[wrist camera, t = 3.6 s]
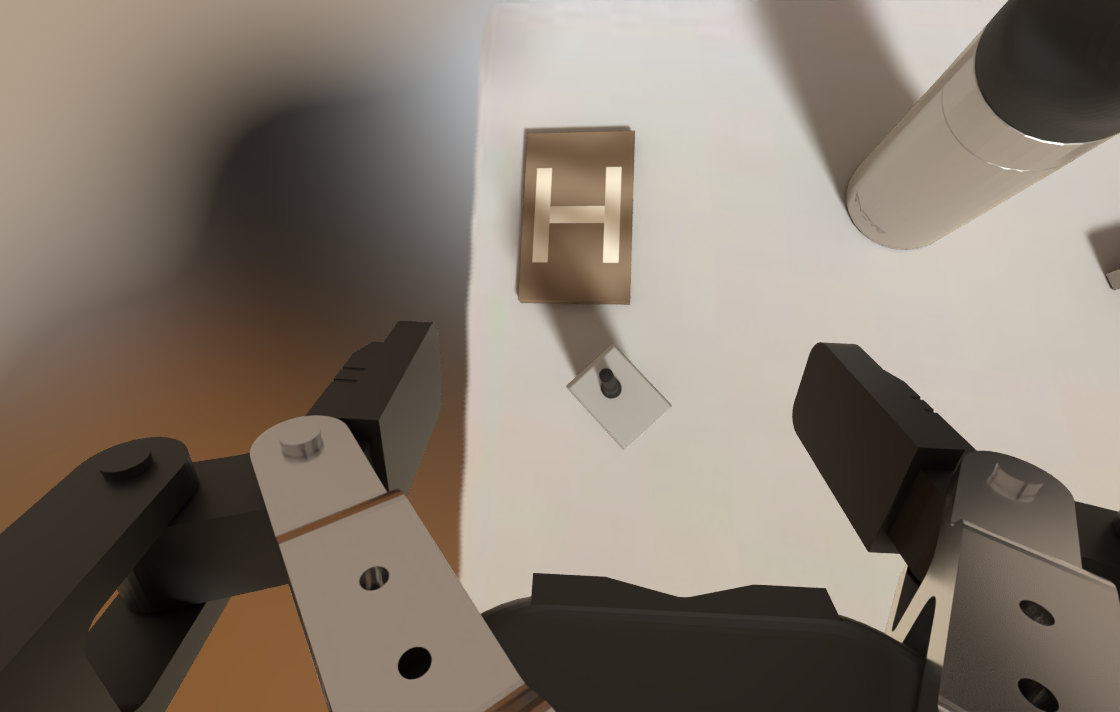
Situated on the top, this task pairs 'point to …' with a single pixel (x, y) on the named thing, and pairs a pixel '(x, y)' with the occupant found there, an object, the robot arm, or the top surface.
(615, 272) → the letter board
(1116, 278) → the graphics card
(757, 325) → the top surface
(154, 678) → the robot arm
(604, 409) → the vintage mobile phone
